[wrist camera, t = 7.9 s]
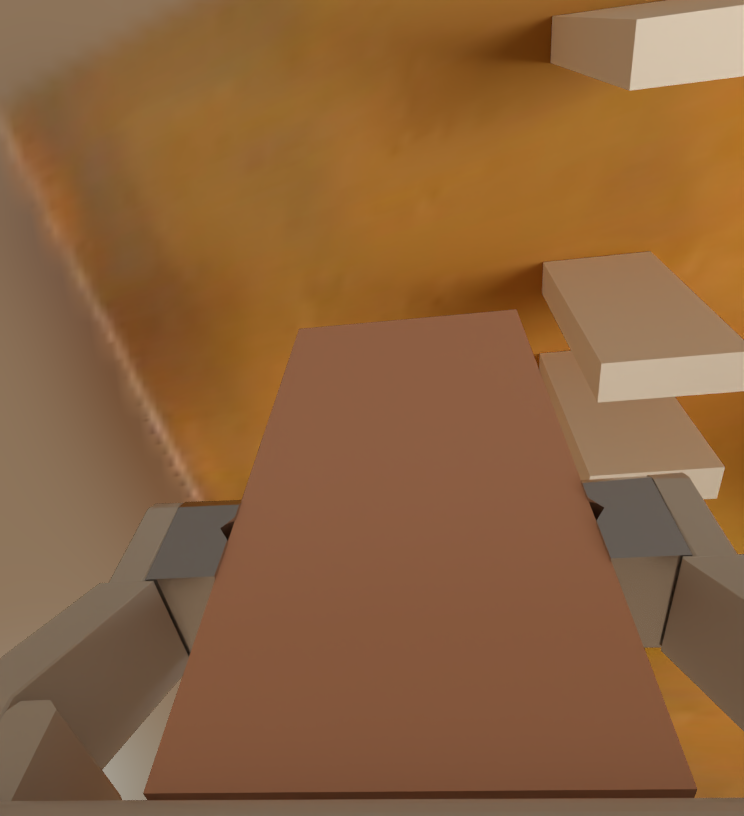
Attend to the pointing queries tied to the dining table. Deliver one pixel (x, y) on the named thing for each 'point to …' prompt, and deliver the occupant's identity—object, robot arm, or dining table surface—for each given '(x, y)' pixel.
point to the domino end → (653, 42)
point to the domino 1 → (416, 594)
